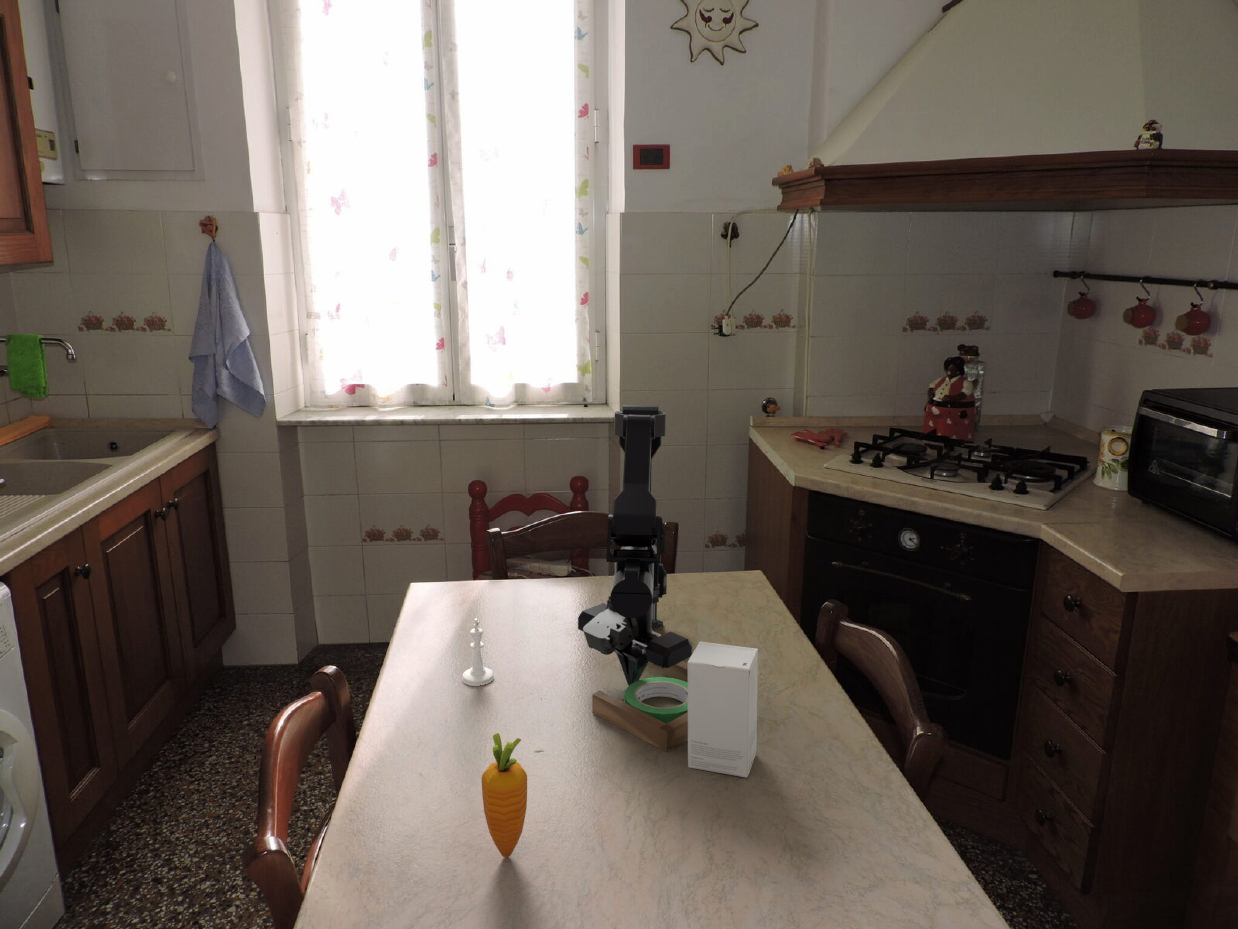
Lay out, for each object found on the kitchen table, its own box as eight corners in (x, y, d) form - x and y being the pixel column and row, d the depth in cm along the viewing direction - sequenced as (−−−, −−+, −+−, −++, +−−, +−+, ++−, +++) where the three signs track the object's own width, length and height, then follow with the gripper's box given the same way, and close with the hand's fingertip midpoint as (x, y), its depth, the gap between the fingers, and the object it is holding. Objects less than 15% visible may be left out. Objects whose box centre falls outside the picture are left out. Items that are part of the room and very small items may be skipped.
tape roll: (648, 685, 142) (648, 669, 141) (712, 704, 136) (713, 688, 136) (609, 716, 133) (609, 699, 132) (676, 739, 127) (677, 721, 126)
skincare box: (757, 754, 123) (762, 647, 119) (747, 781, 117) (752, 670, 113) (696, 742, 126) (699, 638, 122) (683, 769, 120) (686, 659, 116)
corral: (670, 673, 145) (670, 656, 144) (743, 707, 135) (744, 688, 134) (592, 712, 133) (592, 694, 133) (666, 752, 123) (667, 732, 123)
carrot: (485, 843, 105) (481, 726, 101) (529, 841, 105) (526, 724, 102) (482, 873, 100) (478, 751, 96) (528, 871, 101) (526, 749, 97)
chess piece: (497, 671, 145) (495, 613, 143) (490, 687, 141) (488, 626, 138) (466, 670, 146) (464, 611, 143) (458, 685, 141) (456, 625, 138)
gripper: (550, 586, 136) (551, 682, 140) (641, 625, 123) (640, 729, 127) (604, 567, 143) (604, 659, 147) (696, 602, 131) (692, 701, 135)
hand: (632, 685), depth 139 cm, fingers closed
